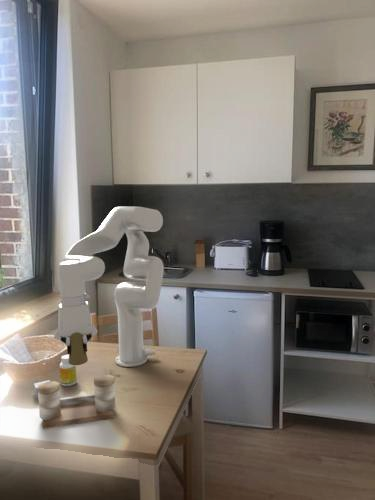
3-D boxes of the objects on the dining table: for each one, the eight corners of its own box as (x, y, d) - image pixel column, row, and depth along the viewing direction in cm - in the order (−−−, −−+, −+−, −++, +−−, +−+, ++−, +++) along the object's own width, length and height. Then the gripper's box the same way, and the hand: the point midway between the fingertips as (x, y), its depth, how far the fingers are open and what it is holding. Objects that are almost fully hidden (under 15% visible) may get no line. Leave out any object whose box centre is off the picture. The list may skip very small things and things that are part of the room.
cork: (91, 358, 140) (89, 326, 138) (81, 366, 134) (78, 333, 132) (75, 356, 142) (73, 324, 140) (64, 363, 136) (61, 331, 134)
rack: (113, 401, 137) (112, 370, 135) (117, 417, 127) (116, 384, 126) (40, 411, 131) (38, 379, 130) (38, 429, 122) (36, 394, 120)
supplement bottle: (72, 387, 147) (70, 360, 146) (57, 385, 148) (56, 359, 147) (79, 380, 153) (77, 354, 151) (65, 378, 154) (63, 353, 152)
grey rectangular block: (49, 391, 145) (49, 380, 144) (52, 396, 141) (51, 384, 141) (34, 394, 142) (33, 383, 142) (36, 399, 139) (36, 388, 138)
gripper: (99, 294, 140) (102, 346, 143) (46, 299, 136) (51, 353, 139) (100, 300, 133) (104, 356, 136) (45, 306, 129) (50, 363, 132)
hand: (77, 354), depth 138 cm, fingers closed on cork, 3 cm apart
